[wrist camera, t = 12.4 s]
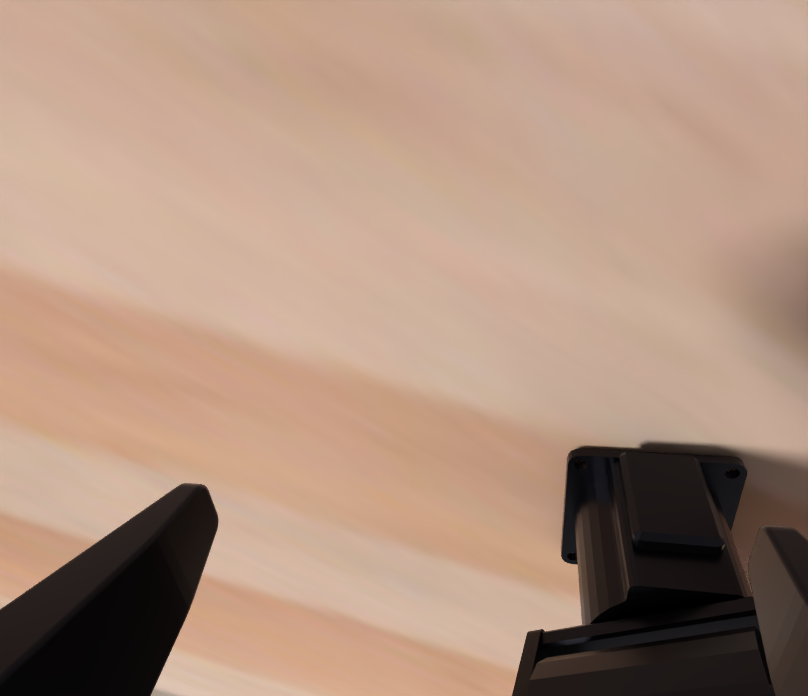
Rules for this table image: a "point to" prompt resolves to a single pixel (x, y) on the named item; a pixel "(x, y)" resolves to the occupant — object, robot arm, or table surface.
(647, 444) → the table surface
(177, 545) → the robot arm
